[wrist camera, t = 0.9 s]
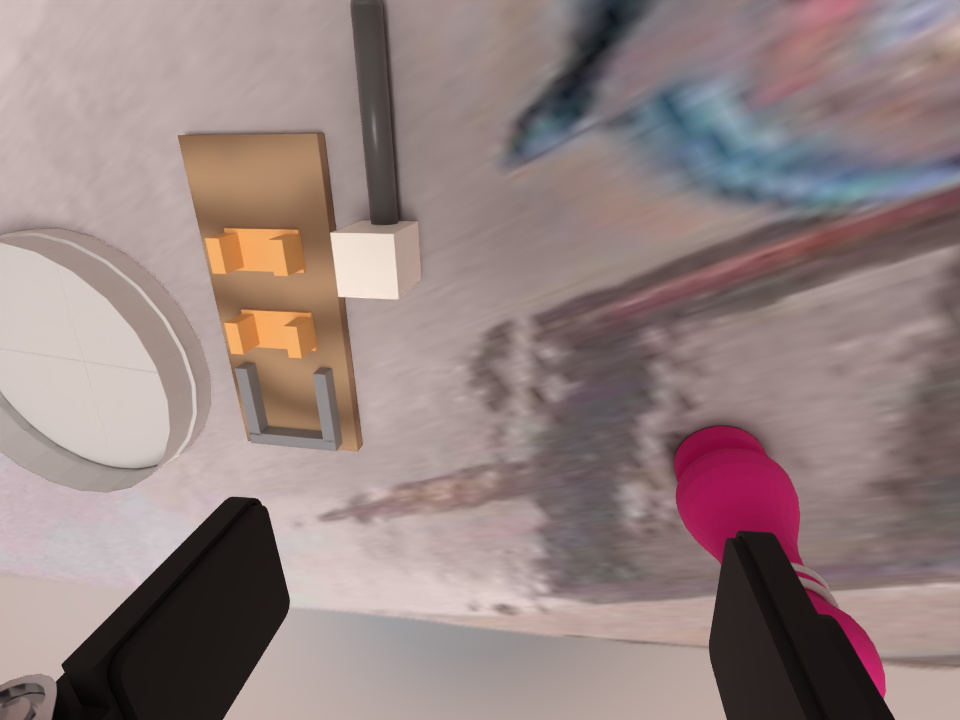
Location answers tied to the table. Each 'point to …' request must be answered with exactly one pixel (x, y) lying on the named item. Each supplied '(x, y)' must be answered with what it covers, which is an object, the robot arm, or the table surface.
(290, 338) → the clip
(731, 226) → the table surface
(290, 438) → the end holder
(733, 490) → the pepper mill
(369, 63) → the connector
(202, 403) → the dish
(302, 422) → the board
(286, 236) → the clip
